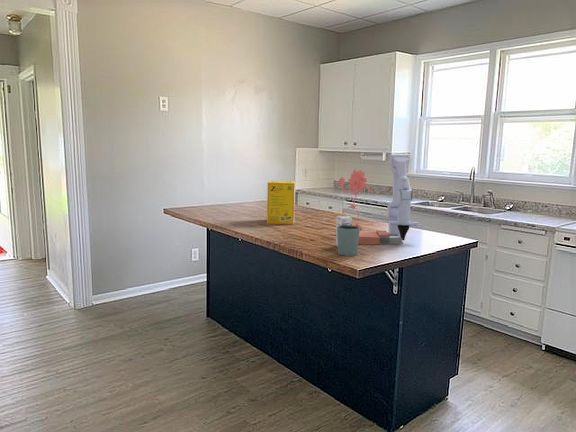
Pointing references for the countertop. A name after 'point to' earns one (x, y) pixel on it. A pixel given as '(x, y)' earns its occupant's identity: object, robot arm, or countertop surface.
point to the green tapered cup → (348, 239)
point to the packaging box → (280, 202)
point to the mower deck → (378, 238)
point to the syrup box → (342, 223)
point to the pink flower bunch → (355, 186)
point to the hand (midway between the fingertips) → (402, 240)
